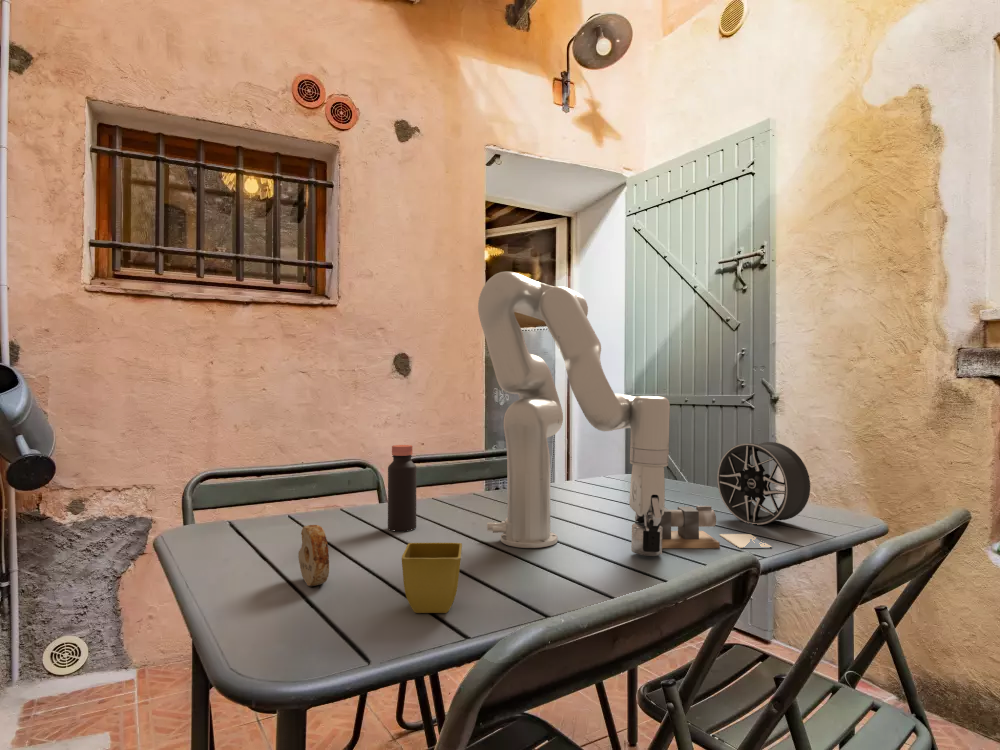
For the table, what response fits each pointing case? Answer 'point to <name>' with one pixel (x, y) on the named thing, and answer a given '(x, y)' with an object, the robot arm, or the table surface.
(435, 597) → the flower pot
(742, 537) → the mat
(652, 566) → the table surface
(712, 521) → the shaft stand
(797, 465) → the wheel rim
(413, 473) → the bottle
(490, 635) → the table surface
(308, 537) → the stone disc
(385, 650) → the table surface
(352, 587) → the table surface
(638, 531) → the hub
